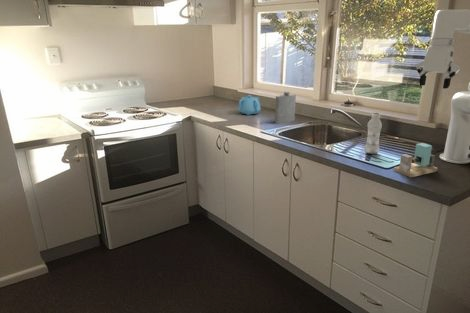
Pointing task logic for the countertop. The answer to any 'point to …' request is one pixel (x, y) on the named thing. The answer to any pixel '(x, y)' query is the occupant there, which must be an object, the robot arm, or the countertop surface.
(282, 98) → the hip flask
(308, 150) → the countertop surface
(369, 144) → the plastic bottle
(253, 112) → the decorative pot
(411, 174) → the cord board
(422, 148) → the sleeve
